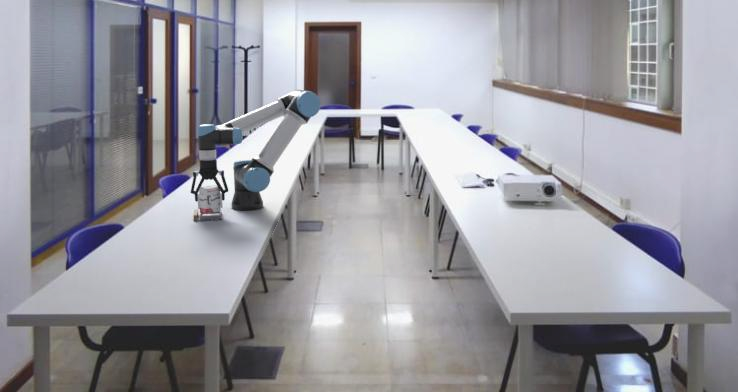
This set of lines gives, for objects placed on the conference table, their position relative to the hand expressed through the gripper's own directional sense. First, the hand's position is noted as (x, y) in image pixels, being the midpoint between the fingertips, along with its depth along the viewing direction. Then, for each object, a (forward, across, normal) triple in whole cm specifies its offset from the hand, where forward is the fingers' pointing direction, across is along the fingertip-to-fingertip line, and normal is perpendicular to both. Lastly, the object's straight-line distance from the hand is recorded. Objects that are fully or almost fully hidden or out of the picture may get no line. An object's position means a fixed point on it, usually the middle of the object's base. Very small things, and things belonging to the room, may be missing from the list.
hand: (210, 207), depth 323 cm
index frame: (+4, 0, 0) cm, 4 cm away
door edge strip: (+4, -7, 0) cm, 8 cm away
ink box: (+2, 0, 0) cm, 2 cm away
